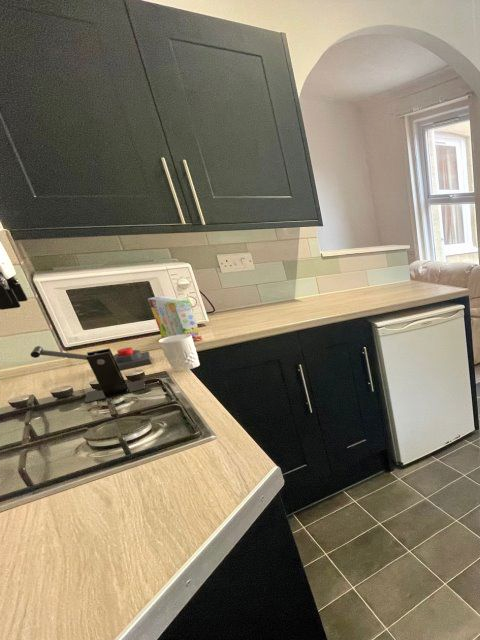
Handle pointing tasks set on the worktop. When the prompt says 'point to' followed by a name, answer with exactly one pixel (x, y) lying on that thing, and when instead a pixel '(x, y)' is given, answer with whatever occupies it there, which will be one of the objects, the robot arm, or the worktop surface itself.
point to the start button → (125, 351)
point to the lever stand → (109, 377)
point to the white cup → (180, 352)
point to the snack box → (174, 316)
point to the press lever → (56, 354)
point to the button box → (133, 360)
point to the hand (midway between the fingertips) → (14, 304)
